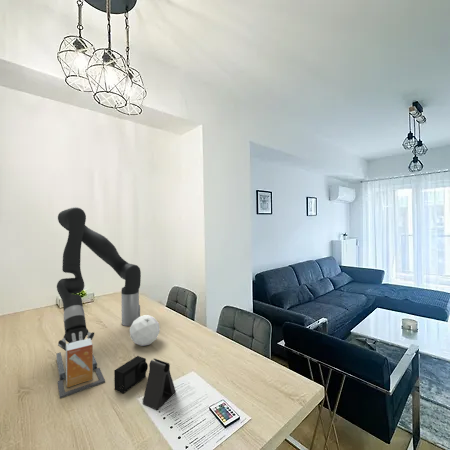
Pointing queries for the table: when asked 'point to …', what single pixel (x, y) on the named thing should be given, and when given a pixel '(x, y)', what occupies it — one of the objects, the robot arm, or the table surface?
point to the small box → (79, 362)
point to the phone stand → (158, 384)
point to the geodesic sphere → (144, 330)
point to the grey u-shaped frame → (61, 367)
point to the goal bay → (63, 393)
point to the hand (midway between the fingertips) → (79, 361)
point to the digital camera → (130, 374)
